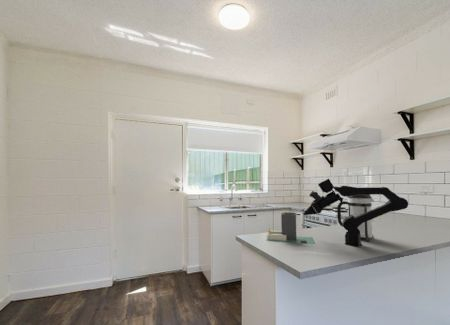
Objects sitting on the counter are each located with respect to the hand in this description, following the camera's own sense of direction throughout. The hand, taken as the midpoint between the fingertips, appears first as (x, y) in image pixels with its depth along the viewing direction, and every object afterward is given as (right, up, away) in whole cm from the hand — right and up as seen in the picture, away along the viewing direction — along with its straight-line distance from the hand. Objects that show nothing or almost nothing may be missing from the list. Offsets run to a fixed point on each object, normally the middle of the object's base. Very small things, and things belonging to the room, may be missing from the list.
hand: (304, 213), depth 133 cm
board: (-9, -15, -3) cm, 18 cm away
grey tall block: (-10, -14, -3) cm, 17 cm away
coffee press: (+33, -16, +3) cm, 37 cm away
